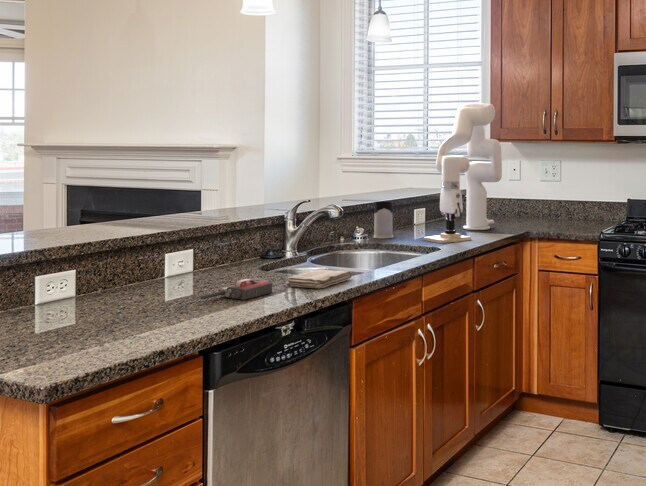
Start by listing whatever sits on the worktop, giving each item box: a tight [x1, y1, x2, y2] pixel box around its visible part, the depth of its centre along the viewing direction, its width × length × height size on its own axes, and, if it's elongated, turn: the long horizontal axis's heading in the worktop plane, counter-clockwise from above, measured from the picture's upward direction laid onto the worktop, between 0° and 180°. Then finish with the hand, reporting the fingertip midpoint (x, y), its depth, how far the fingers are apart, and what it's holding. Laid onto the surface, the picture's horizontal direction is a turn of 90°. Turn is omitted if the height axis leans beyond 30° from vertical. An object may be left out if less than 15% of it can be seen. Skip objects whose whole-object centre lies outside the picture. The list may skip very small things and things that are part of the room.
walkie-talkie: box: [200, 278, 273, 301], centre depth 198 cm, size 9×4×20 cm
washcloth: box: [286, 269, 353, 290], centre depth 218 cm, size 12×18×3 cm, turn 157°
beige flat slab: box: [423, 232, 472, 244], centre depth 311 cm, size 16×12×3 cm
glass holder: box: [372, 201, 394, 239], centre depth 323 cm, size 9×14×15 cm, turn 10°
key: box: [444, 229, 457, 234], centre depth 310 cm, size 3×3×2 cm
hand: (450, 229), depth 309 cm, fingers closed
